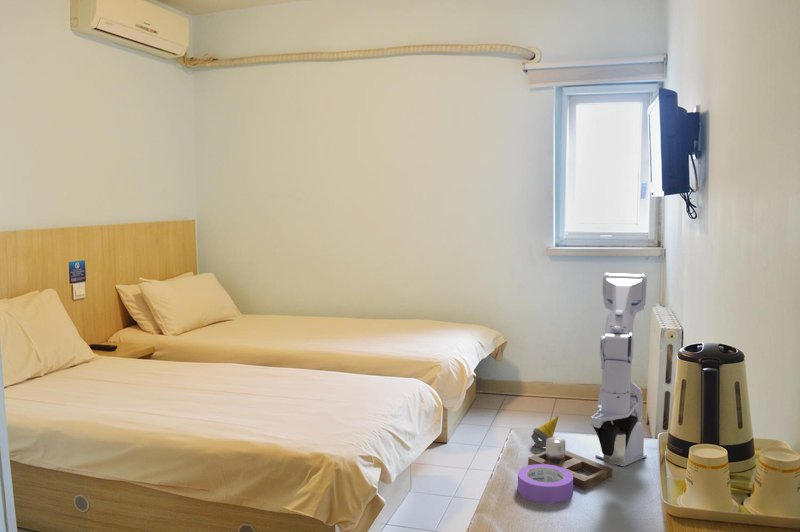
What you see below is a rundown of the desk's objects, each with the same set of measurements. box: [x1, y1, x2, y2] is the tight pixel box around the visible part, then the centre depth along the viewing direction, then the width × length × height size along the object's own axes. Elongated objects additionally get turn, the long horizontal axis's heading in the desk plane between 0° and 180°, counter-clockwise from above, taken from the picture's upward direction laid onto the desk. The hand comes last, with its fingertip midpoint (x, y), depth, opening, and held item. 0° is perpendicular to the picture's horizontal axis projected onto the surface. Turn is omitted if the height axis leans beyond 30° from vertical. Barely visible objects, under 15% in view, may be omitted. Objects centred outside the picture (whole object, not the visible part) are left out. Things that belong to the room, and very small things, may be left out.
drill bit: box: [530, 415, 560, 448], centre depth 177 cm, size 5×5×10 cm
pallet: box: [527, 449, 614, 491], centre depth 161 cm, size 10×16×2 cm, turn 37°
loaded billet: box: [545, 436, 566, 464], centre depth 164 cm, size 4×4×6 cm
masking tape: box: [517, 464, 574, 504], centre depth 152 cm, size 12×12×4 cm
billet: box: [603, 430, 626, 465], centre depth 151 cm, size 4×4×6 cm
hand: (614, 451), depth 151 cm, fingers closed on billet, 4 cm apart
